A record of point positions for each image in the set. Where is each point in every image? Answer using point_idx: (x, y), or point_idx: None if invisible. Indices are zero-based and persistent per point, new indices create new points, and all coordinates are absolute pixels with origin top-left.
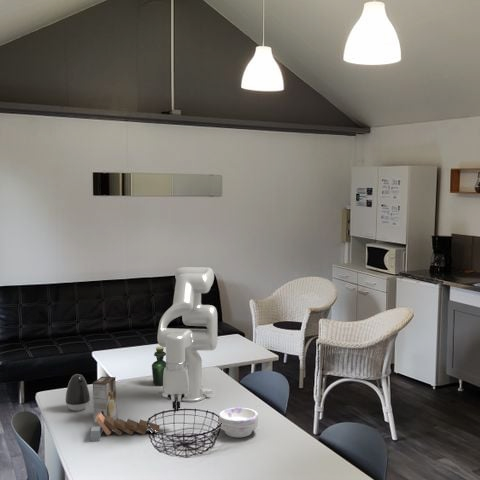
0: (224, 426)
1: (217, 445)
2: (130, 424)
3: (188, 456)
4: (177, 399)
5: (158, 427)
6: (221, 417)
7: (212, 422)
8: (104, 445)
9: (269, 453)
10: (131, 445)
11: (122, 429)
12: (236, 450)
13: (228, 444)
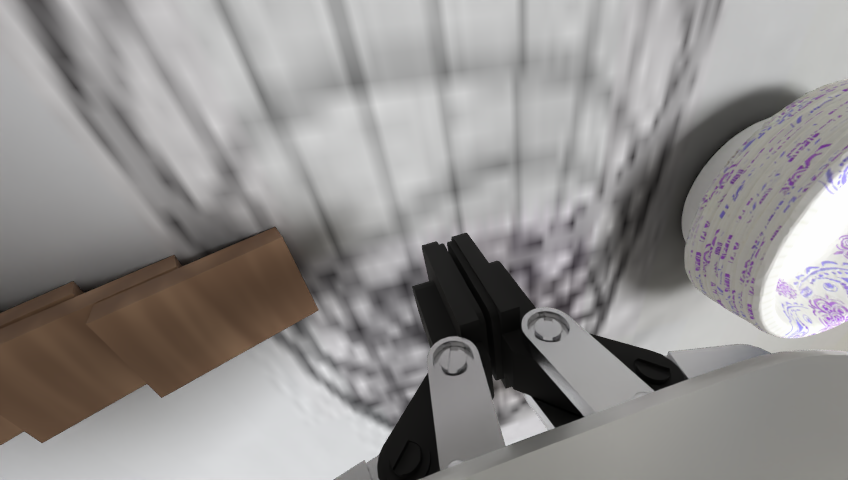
0: (716, 301)
1: (615, 325)
2: (78, 415)
3: (506, 420)
4: (525, 393)
5: (294, 279)
6: (758, 311)
7: (649, 32)
8: (70, 476)
9: (757, 328)
10: (228, 432)
11: None
12: (669, 340)
13: (657, 307)
